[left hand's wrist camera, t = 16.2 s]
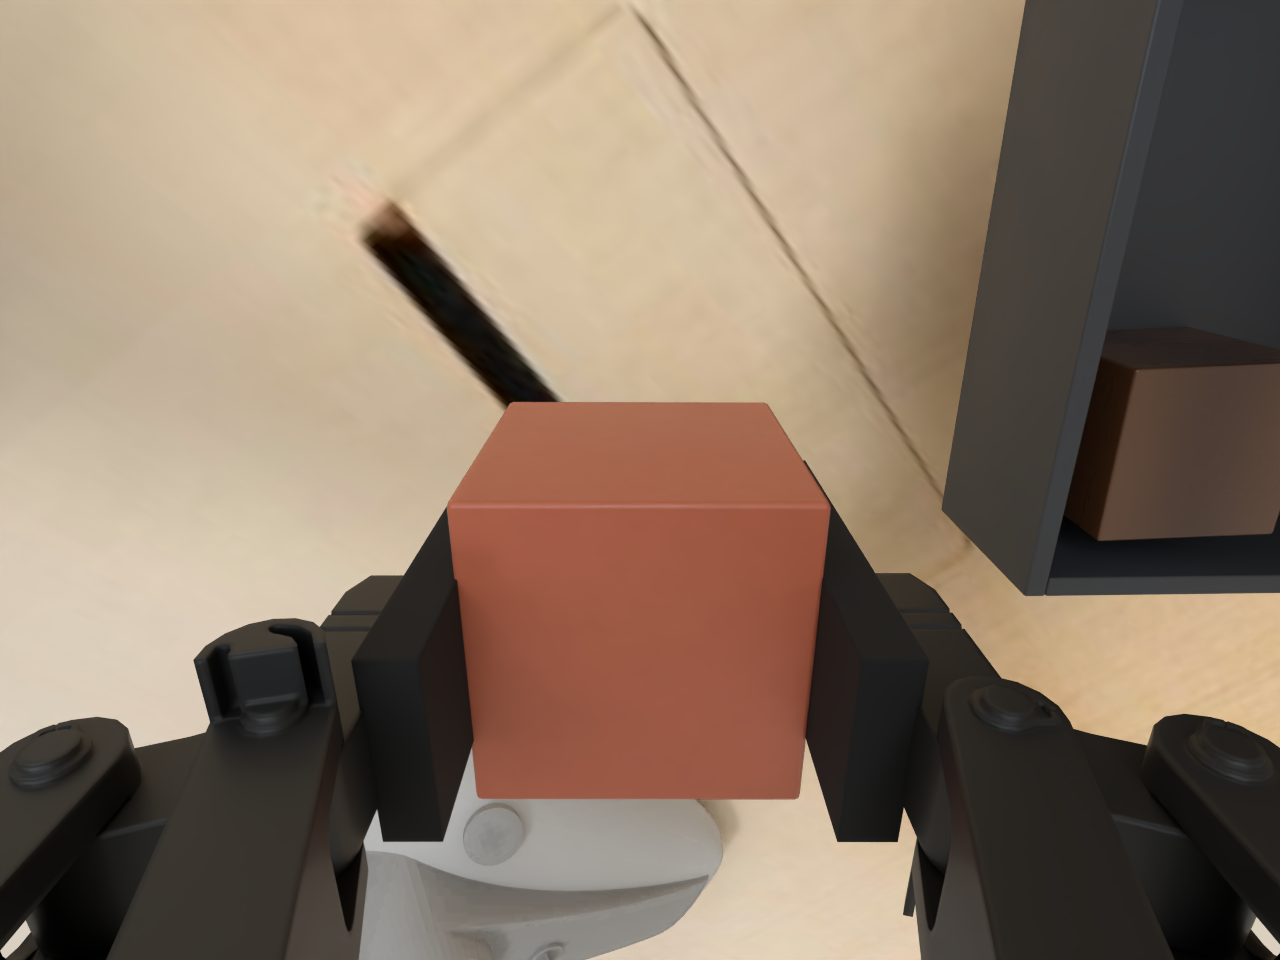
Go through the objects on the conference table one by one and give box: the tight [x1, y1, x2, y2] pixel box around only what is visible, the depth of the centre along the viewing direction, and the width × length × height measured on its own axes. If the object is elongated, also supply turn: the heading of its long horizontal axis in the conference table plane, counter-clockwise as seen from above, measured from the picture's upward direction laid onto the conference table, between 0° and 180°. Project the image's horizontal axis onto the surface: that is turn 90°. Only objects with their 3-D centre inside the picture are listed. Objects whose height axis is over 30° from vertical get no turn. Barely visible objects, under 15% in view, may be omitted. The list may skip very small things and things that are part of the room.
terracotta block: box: [447, 402, 831, 799], centre depth 12 cm, size 5×5×5 cm
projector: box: [359, 748, 723, 960], centre depth 39 cm, size 22×23×15 cm
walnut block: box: [1063, 327, 1280, 541], centre depth 22 cm, size 5×5×5 cm
